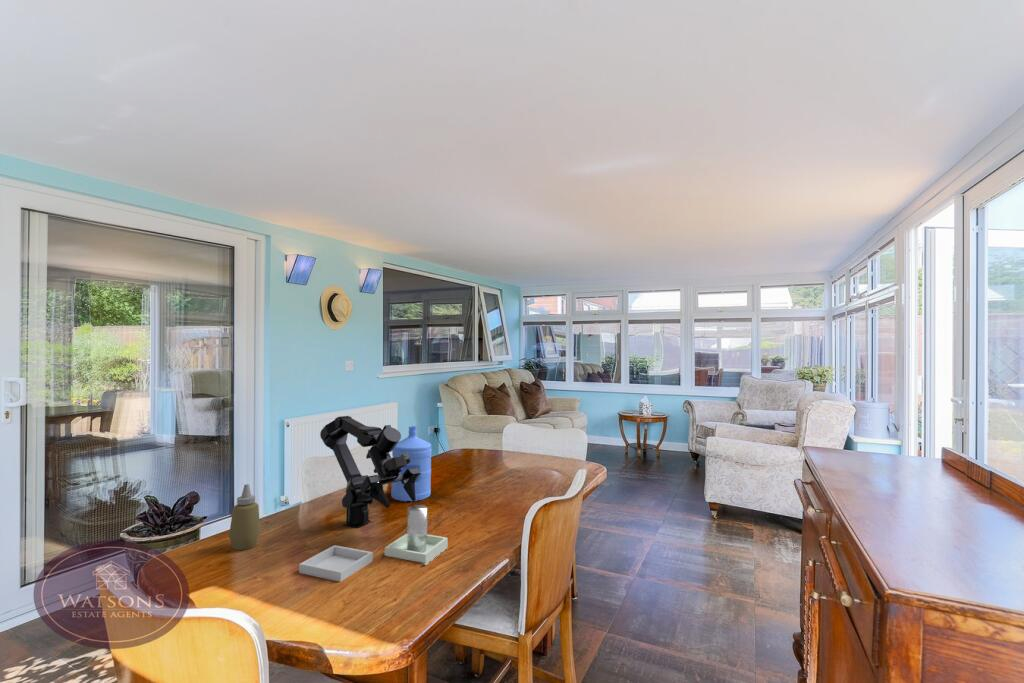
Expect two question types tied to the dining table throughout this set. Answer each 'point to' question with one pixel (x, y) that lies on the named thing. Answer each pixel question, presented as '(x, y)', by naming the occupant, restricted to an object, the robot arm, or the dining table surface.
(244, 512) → the squeeze bottle
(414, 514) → the brushed metal cylinder
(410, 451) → the water jug
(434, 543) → the sage bin
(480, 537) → the dining table surface
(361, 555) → the grey bin
